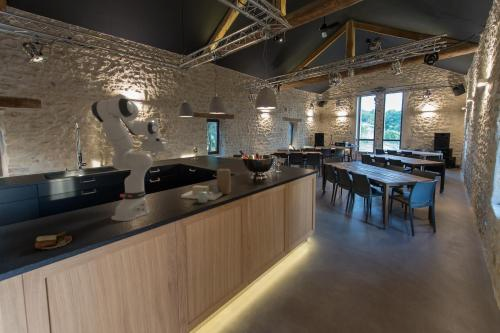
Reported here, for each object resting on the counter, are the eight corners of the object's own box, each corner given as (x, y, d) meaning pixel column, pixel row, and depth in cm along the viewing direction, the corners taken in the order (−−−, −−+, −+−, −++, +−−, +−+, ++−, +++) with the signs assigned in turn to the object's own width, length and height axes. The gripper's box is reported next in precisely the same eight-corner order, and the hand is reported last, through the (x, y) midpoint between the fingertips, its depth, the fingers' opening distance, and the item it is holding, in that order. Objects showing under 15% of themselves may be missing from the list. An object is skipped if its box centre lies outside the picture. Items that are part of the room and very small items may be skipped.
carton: (192, 194, 197) (206, 195, 194) (192, 186, 196) (205, 187, 193) (195, 192, 203) (209, 193, 199) (195, 185, 202) (209, 185, 199)
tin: (218, 193, 198) (218, 187, 197) (213, 193, 198) (213, 187, 197) (218, 192, 202) (218, 186, 201) (214, 192, 202) (213, 186, 201)
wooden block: (231, 191, 213) (230, 168, 210) (228, 194, 203) (228, 170, 201) (219, 191, 214) (219, 168, 211) (217, 194, 204) (216, 170, 202)
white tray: (214, 200, 187) (214, 197, 186) (181, 197, 194) (181, 195, 194) (222, 195, 202) (222, 192, 202) (191, 192, 209) (191, 190, 209)
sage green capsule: (204, 203, 180) (204, 193, 179) (196, 202, 181) (195, 193, 180) (209, 200, 186) (208, 191, 185) (200, 199, 188) (200, 190, 187)
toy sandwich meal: (70, 246, 114) (69, 236, 113) (32, 254, 107) (31, 243, 106) (73, 236, 124) (72, 227, 123) (38, 243, 117) (36, 233, 116)
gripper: (139, 139, 189) (140, 157, 191) (162, 139, 183) (163, 157, 185) (144, 138, 195) (146, 156, 197) (167, 138, 189) (168, 156, 191)
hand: (154, 157), depth 191 cm, fingers closed
